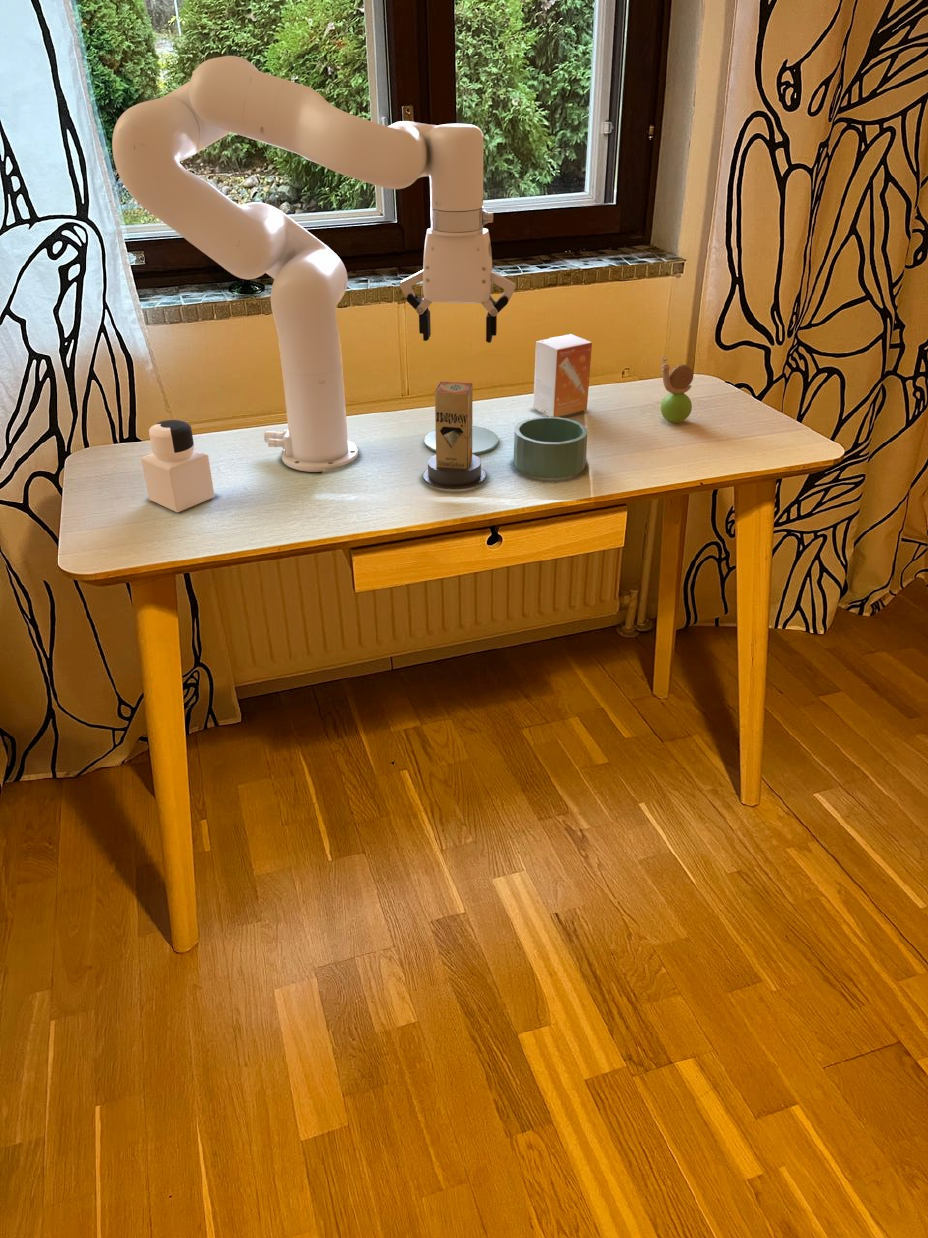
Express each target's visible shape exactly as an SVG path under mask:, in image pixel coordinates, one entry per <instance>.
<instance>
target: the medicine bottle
mask: <svg viewBox="0 0 928 1238" xmlns="http://www.w3.org/2000/svg"><path fill="white" fill-rule="evenodd" d="M148 435H149V440H150V446H151V451H152V453H149V454H147V455H144V456H142V457H141V464H142V469H143V474H144V479H145V484H146V490H147V495H148V499H149V500H150V501H152V502H154V503H156V504H158V505H160V506H162V507H164V508H166V509H168V510H171V511H173V512H175V513H180V512H183V511H185V510H187V509H190V508H192V507H194V506H197V505H199V504H202V503H205V502H206V501H209V500H211V499H213V498H215V490H214V485H213V484H214V483H213V477H212V471H211V465H210V464H211V463H210V458H209V455H208V454H207V453H205V452H202V451H200V450H197V449H195V443H194V436H193V431H192V426H191V424H189V422H186V421H183V420H179V419H165V420H162V421H159V422H157V423H155V424H153V425H152V426H150V427H149V429H148Z"/></svg>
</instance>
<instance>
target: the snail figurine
mask: <svg viewBox="0 0 928 1238" xmlns="http://www.w3.org/2000/svg"><path fill="white" fill-rule="evenodd" d="M661 360H662V361H663V364H662V365H661V371H662V382H663V386H664V388H665V390H666V391H667V392H668V394H666V395H665V396H664V397H663V398H662V400H661V403H660V413H661V415H662V417H663V418H664V419H665V420H666V421H667V422H669V423H674V424H677V423H682V422H684V421H685V420H687V418H689V417H690V415H691V412H692V409H693V404H692V401H691V398H690V397H689V396H688V395H687V394H686V393H687V392H688V391H690V389H691V388H692V385H691V384H692V382H693V380H694V370H693V368H692V367H691V366H689V365H687V364H679V365H676V366H675V367H674V368H673V369H672V370H671V369H670V368H671V367H670V365H669V364H668V363H666V362H667V361H668V358H666V357H664V356H662V358H661ZM670 370H671V372H670Z"/></svg>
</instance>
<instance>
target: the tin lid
mask: <svg viewBox="0 0 928 1238" xmlns="http://www.w3.org/2000/svg"><path fill="white" fill-rule="evenodd" d="M423 442H424V445H425V447H426V448H427V449H428V450H430V451H432V452H434V453H436V428H435V429H433V430H431V431H429V432H428V433H427V434H426V435H424V440H423ZM498 445H499V437H498V435H497V434H496V432H493V431H492V430H491V429H488V428H485V427H482V426H477V425H472V454H474V455H476V456H477V455H478V456H479V455H482V454H483V455H484V454H486V453H488V452H491V451H493V450H494V449H495V448H497V446H498Z"/></svg>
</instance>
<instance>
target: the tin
mask: <svg viewBox="0 0 928 1238" xmlns="http://www.w3.org/2000/svg"><path fill="white" fill-rule="evenodd" d="M513 435H514V437H513V438H514V439H513V466H514V468H515V469H516V470H517V471H519V472H520V473H522V474H524V475H528V476H530V477H535V478H540V479H562V478H563V479H564V478H569V477H573V476H575V475H578V474H579V473H581V472H583V471H584V469H585V468H586V463H587V462H586V461H587V448H588V428H587V427H586V426H585V424H583V423H581V422H580V421H578V420H575V419H570V418H568V417H567V418H566V417H561V416H559V417H550V416H538V417H531V418H527V419H525V420H522V421H520V422H518V423H517V424H516V425H515V426H514V433H513Z"/></svg>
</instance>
